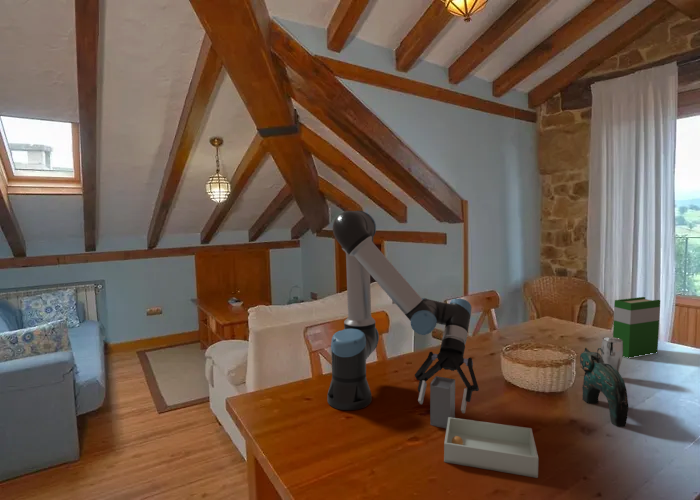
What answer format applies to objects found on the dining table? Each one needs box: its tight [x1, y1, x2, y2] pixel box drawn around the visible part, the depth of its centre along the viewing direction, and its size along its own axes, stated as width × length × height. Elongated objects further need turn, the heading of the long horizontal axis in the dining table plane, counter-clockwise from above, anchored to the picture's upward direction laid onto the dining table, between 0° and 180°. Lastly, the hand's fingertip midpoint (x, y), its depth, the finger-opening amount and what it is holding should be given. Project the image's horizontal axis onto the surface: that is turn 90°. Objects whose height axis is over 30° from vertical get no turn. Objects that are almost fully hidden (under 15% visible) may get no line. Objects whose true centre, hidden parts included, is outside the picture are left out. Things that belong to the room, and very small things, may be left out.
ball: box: [452, 436, 463, 445], centre depth 109 cm, size 3×3×3 cm
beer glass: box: [600, 336, 624, 375], centre depth 153 cm, size 7×7×15 cm
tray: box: [443, 417, 539, 479], centre depth 107 cm, size 22×14×5 cm, turn 72°
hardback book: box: [612, 296, 661, 359], centre depth 178 cm, size 18×7×24 cm, turn 109°
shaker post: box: [429, 375, 456, 430], centre depth 123 cm, size 6×6×13 cm
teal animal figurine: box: [579, 347, 629, 427], centre depth 127 cm, size 20×6×20 cm, turn 178°
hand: (440, 407), depth 120 cm, fingers open, 12 cm apart
